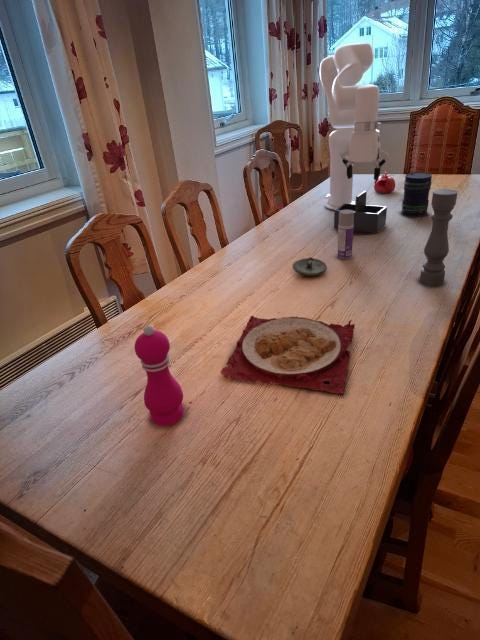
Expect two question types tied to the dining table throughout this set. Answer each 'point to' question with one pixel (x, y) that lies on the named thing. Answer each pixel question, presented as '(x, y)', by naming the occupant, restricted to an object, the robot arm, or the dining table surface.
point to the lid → (309, 266)
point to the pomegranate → (384, 184)
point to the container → (345, 234)
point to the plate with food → (292, 353)
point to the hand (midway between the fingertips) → (362, 178)
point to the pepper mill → (159, 378)
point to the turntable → (361, 233)
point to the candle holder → (438, 238)
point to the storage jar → (416, 194)
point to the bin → (364, 215)
